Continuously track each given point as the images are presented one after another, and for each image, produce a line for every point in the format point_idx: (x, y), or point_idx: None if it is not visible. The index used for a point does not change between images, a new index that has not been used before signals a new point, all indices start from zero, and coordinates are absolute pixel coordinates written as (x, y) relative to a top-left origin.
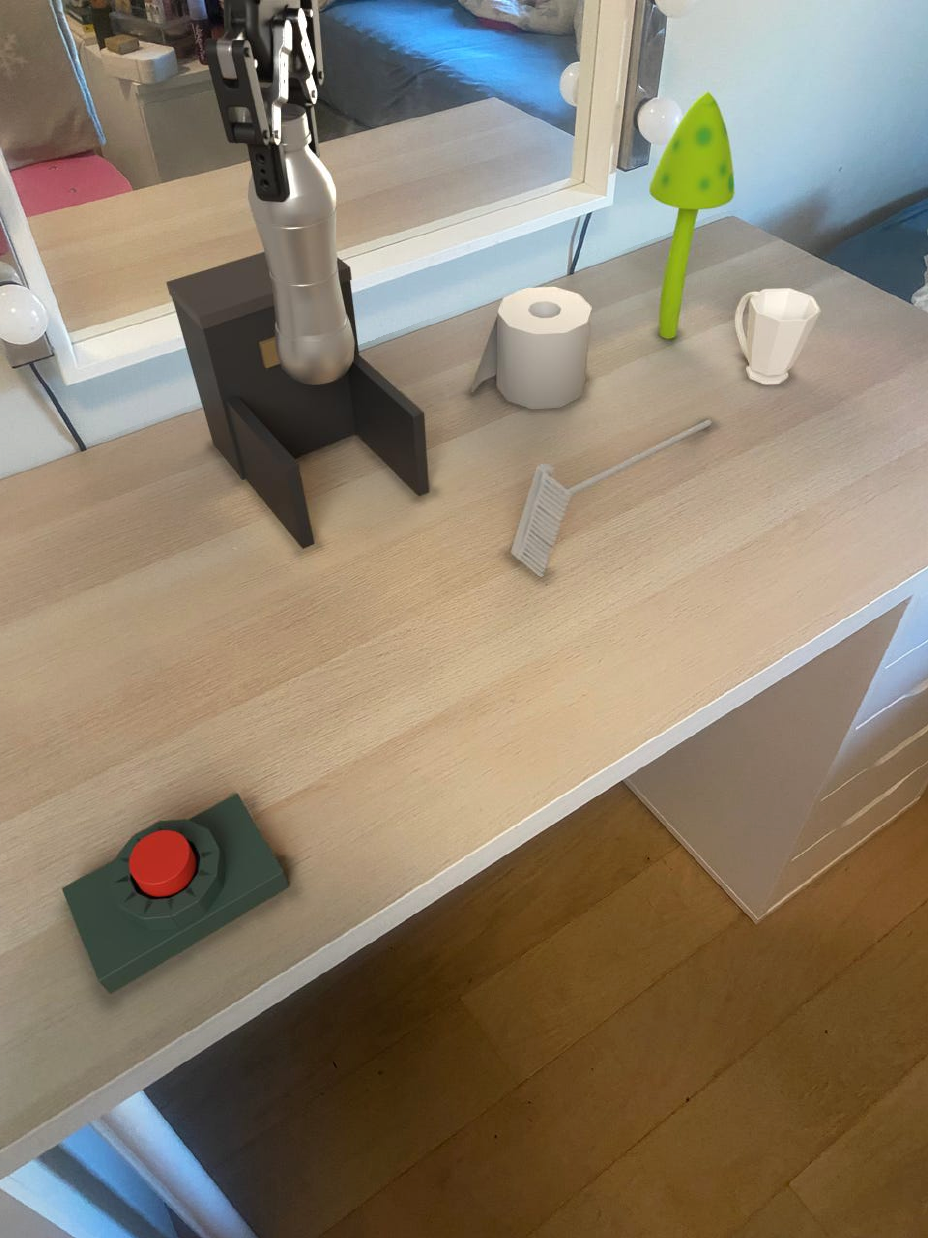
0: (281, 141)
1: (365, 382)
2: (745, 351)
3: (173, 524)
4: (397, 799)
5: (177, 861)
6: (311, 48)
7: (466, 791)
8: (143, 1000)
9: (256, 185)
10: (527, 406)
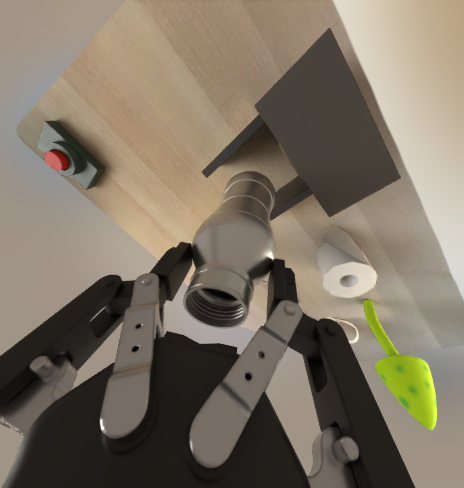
0: (171, 300)
1: (290, 197)
2: (341, 320)
3: (224, 75)
4: (127, 211)
5: (55, 167)
6: (314, 390)
7: (136, 228)
8: None
9: (166, 252)
10: (317, 249)
